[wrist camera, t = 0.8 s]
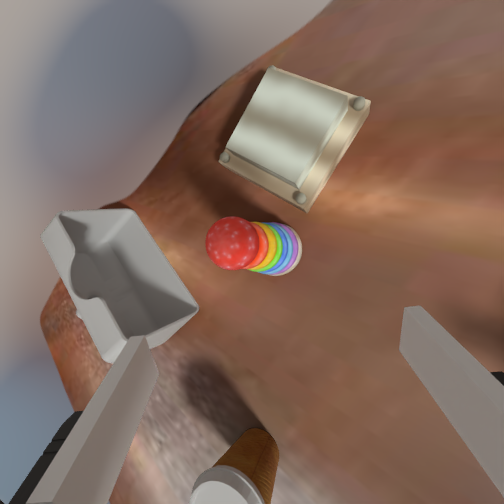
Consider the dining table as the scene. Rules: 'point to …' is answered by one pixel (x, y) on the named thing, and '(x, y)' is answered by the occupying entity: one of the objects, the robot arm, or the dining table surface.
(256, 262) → the stacking toy
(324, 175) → the plinth
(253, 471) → the disposable coffee cup
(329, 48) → the dining table surface
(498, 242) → the dining table surface
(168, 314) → the tank
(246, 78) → the dining table surface
